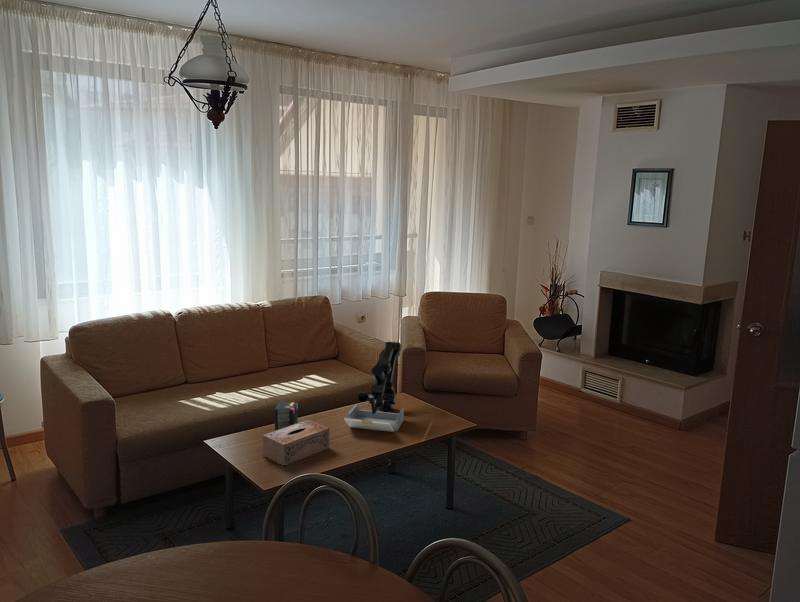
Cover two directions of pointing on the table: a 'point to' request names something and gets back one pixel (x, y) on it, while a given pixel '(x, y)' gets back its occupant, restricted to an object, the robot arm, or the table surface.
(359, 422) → the flap
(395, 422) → the carton
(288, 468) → the table surface
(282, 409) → the tampon box
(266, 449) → the tissue box cover
